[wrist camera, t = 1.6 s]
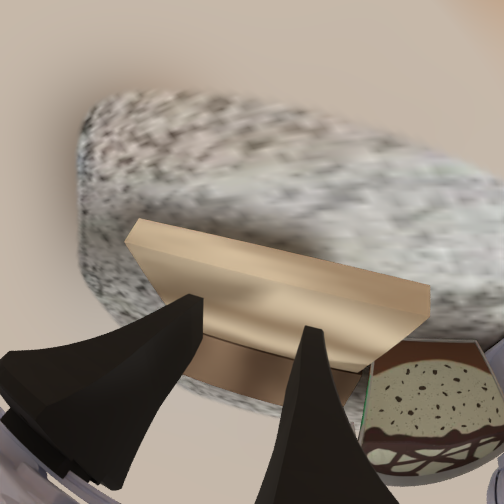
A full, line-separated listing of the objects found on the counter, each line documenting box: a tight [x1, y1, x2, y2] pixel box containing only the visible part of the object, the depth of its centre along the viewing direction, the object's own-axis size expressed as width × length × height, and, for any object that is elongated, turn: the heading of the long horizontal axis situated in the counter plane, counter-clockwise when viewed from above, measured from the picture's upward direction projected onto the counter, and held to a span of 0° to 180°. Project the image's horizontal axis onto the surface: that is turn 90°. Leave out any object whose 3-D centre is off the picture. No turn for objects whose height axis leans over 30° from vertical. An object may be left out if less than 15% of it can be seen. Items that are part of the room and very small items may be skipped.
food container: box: [350, 337, 504, 487], centre depth 15 cm, size 12×6×10 cm, turn 92°
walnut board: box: [183, 333, 362, 407], centre depth 23 cm, size 15×6×2 cm, turn 84°
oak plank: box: [124, 218, 430, 373], centre depth 16 cm, size 11×14×2 cm
